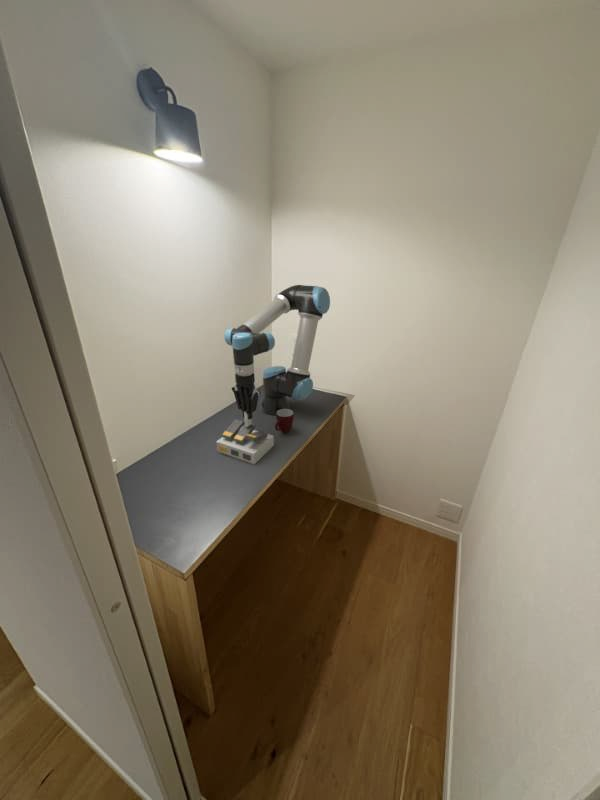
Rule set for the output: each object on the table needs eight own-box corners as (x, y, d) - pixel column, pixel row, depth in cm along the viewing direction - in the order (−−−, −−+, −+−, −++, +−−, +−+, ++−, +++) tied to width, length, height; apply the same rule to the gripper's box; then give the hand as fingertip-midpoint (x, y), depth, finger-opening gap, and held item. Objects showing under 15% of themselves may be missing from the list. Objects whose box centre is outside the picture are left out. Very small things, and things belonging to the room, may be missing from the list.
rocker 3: (258, 434, 136) (259, 430, 135) (267, 437, 134) (267, 432, 134) (244, 439, 127) (245, 434, 126) (254, 442, 125) (254, 437, 125)
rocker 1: (236, 421, 140) (235, 418, 138) (244, 423, 138) (243, 420, 137) (223, 437, 133) (221, 434, 132) (231, 440, 132) (230, 437, 130)
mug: (284, 440, 142) (284, 421, 138) (270, 435, 146) (269, 416, 142) (296, 429, 150) (296, 411, 146) (282, 425, 154) (282, 407, 150)
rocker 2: (247, 424, 137) (246, 421, 136) (255, 426, 135) (254, 423, 134) (234, 441, 131) (233, 438, 130) (243, 443, 129) (241, 441, 128)
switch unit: (238, 434, 146) (237, 421, 143) (273, 445, 138) (273, 432, 135) (217, 451, 134) (215, 438, 131) (253, 464, 126) (252, 450, 123)
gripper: (225, 373, 123) (230, 425, 134) (252, 379, 118) (256, 432, 128) (237, 367, 129) (241, 417, 140) (263, 372, 124) (265, 424, 134)
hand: (248, 424), depth 134 cm, fingers closed
